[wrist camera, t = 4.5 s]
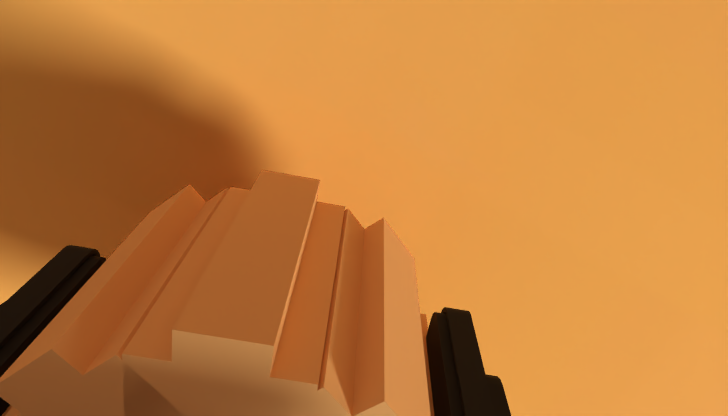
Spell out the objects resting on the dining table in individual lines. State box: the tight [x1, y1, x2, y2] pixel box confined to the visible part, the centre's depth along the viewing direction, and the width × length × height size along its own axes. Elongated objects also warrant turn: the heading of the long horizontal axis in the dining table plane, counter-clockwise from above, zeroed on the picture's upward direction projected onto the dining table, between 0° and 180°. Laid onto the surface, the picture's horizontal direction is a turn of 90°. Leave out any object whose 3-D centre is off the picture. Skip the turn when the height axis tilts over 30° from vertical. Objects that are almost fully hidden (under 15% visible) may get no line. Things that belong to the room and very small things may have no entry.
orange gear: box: [0, 170, 434, 416], centre depth 10 cm, size 7×7×5 cm
